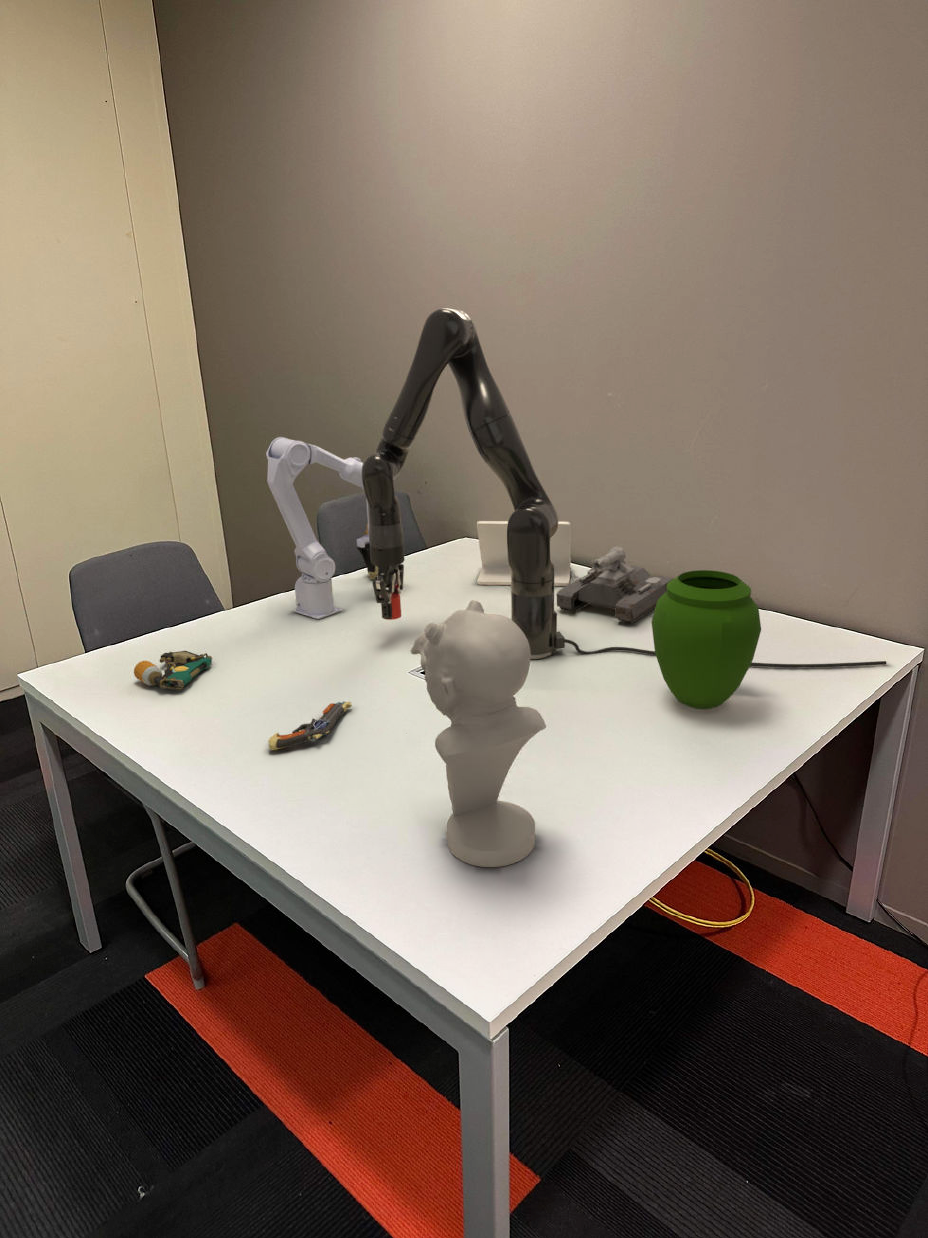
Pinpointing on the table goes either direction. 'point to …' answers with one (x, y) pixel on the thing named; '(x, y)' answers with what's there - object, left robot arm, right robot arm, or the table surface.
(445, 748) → the bust sculpture
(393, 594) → the canister
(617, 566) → the toy
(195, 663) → the spray gun
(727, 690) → the vase
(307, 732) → the toy gun
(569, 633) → the table surface
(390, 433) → the right robot arm
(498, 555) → the tablet stand
